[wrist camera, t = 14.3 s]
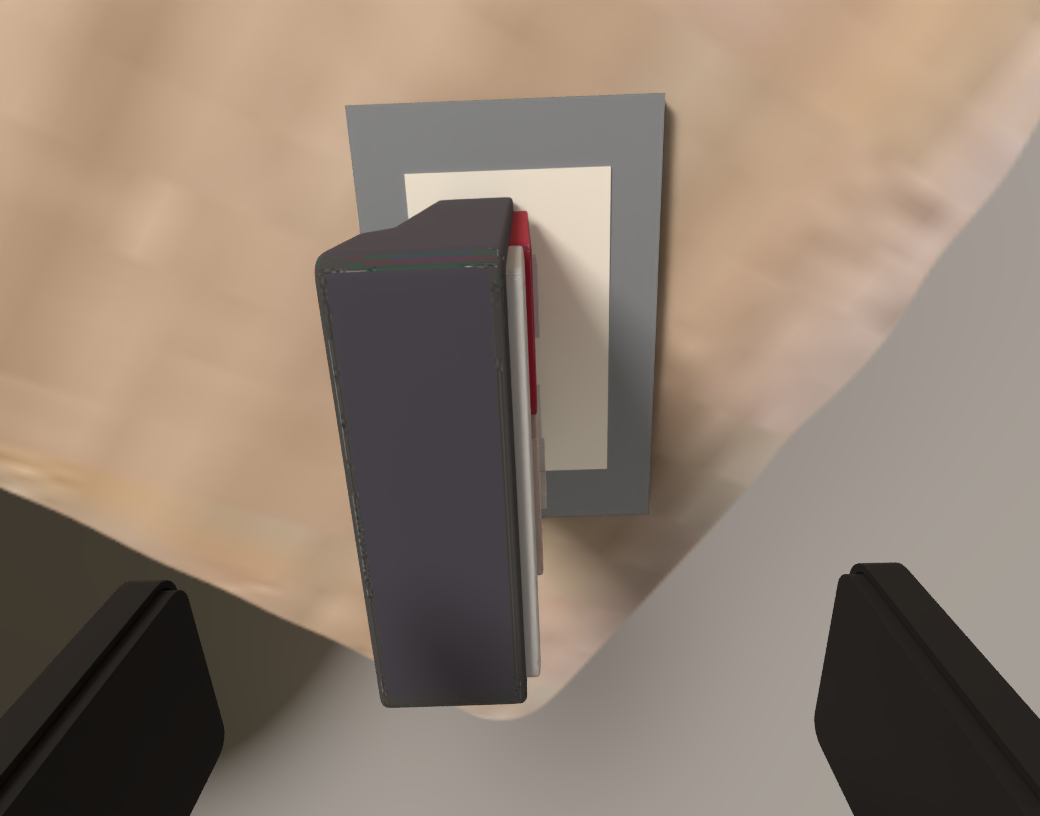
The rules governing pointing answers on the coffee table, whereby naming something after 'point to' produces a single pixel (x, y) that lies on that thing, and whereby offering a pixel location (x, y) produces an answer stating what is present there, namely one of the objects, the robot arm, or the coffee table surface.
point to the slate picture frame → (552, 256)
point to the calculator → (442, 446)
